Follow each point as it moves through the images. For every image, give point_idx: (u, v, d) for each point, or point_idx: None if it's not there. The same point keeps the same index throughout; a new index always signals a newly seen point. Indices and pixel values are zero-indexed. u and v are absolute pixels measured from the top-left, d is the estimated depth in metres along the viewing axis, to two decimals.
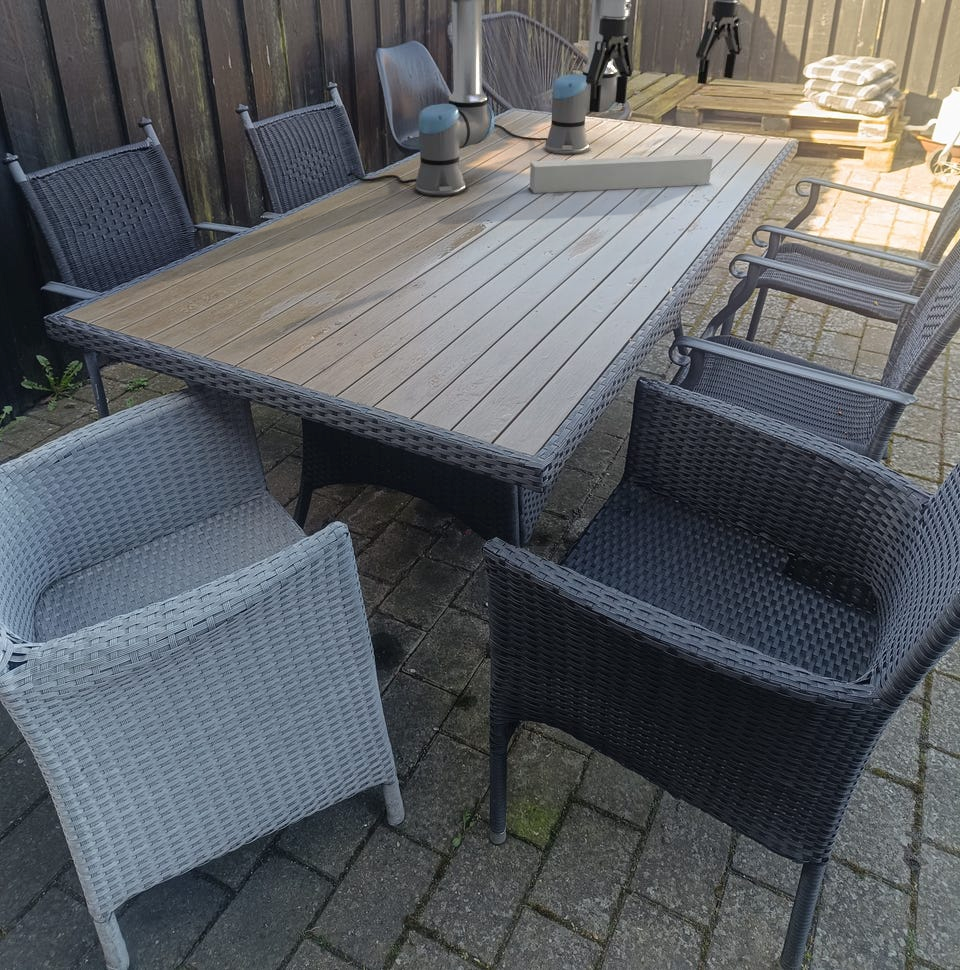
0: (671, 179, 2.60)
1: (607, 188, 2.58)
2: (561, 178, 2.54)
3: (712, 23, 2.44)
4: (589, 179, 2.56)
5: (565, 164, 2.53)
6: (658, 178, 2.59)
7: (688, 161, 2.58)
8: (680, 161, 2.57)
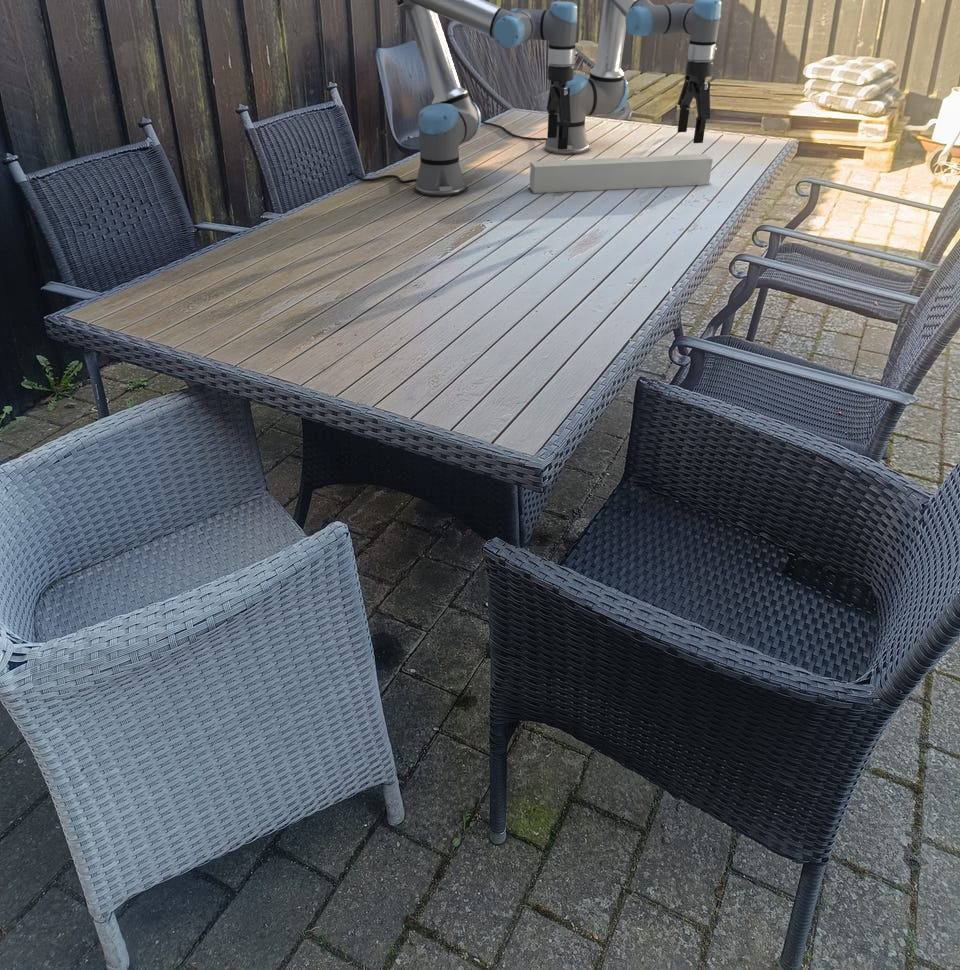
0: (671, 179, 2.60)
1: (607, 188, 2.58)
2: (561, 178, 2.54)
3: (708, 84, 2.42)
4: (589, 179, 2.56)
5: (565, 164, 2.53)
6: (658, 178, 2.59)
7: (688, 161, 2.58)
8: (680, 161, 2.57)
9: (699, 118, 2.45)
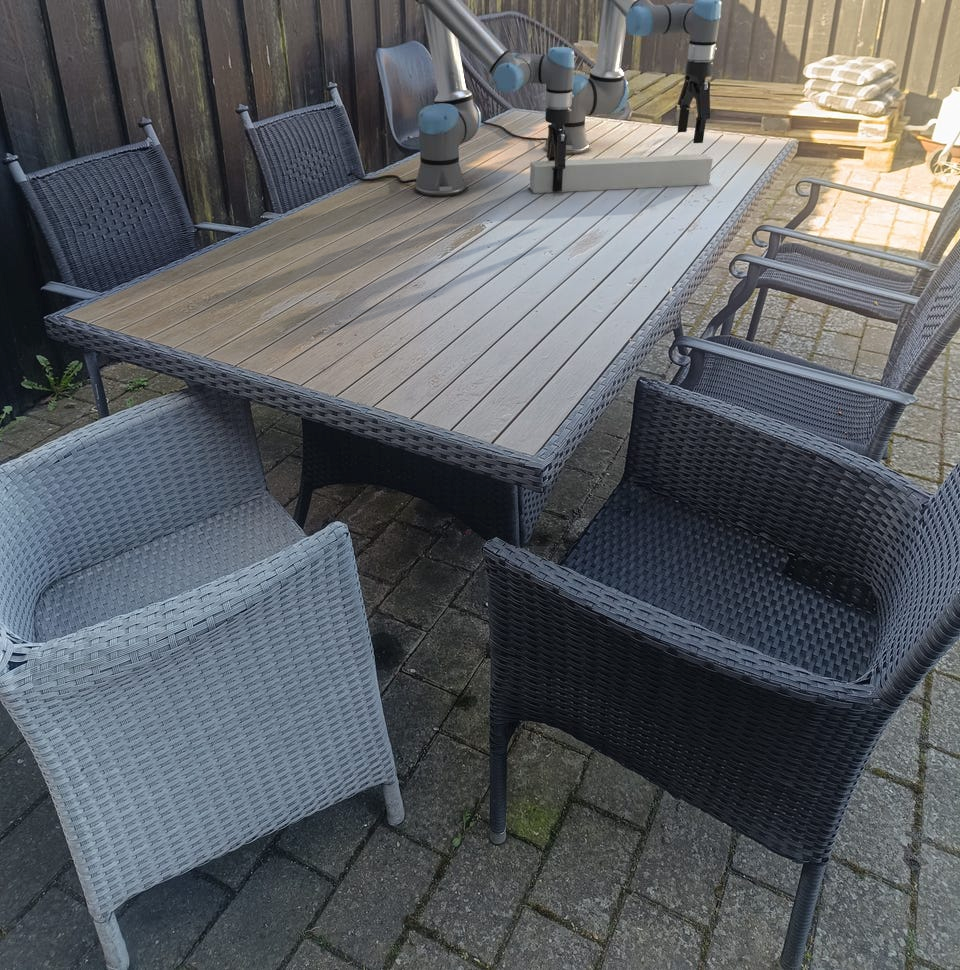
0: (671, 179, 2.60)
1: (607, 188, 2.58)
2: None
3: (708, 84, 2.42)
4: (589, 179, 2.56)
5: (565, 164, 2.53)
6: (658, 178, 2.59)
7: (688, 161, 2.58)
8: (680, 161, 2.57)
9: (699, 118, 2.45)
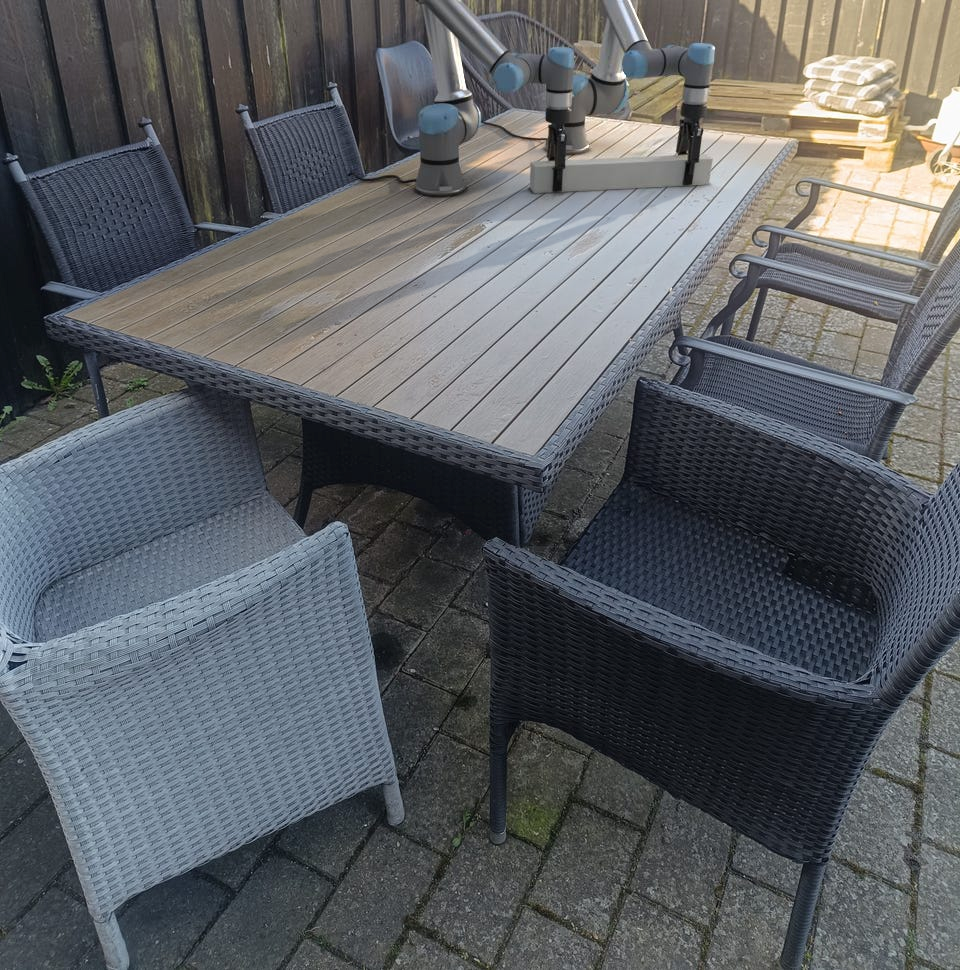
0: (671, 179, 2.60)
1: (607, 188, 2.58)
2: None
3: (701, 131, 2.49)
4: (589, 179, 2.56)
5: (565, 164, 2.53)
6: (658, 178, 2.59)
7: None
8: (680, 161, 2.57)
9: (688, 162, 2.56)
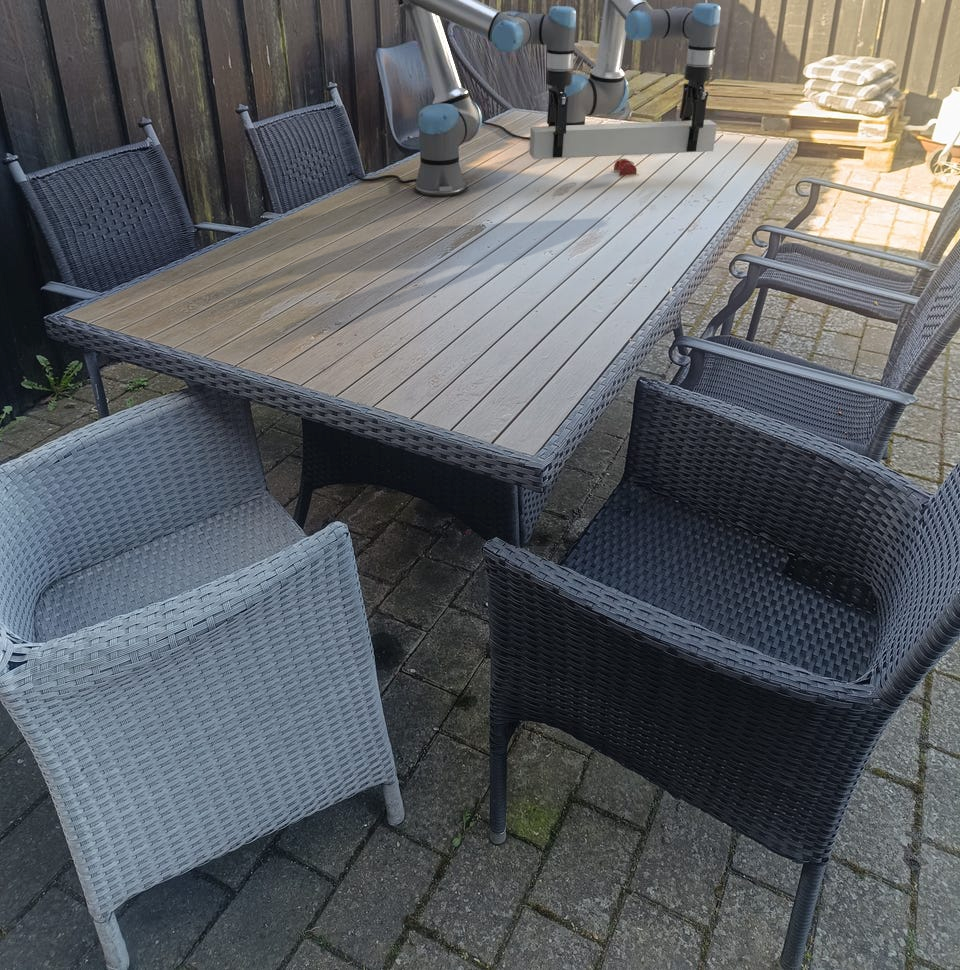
0: (674, 145, 2.54)
1: (609, 154, 2.52)
2: None
3: (706, 94, 2.43)
4: (591, 145, 2.50)
5: (566, 129, 2.47)
6: (661, 144, 2.53)
7: None
8: (684, 127, 2.51)
9: (692, 128, 2.50)
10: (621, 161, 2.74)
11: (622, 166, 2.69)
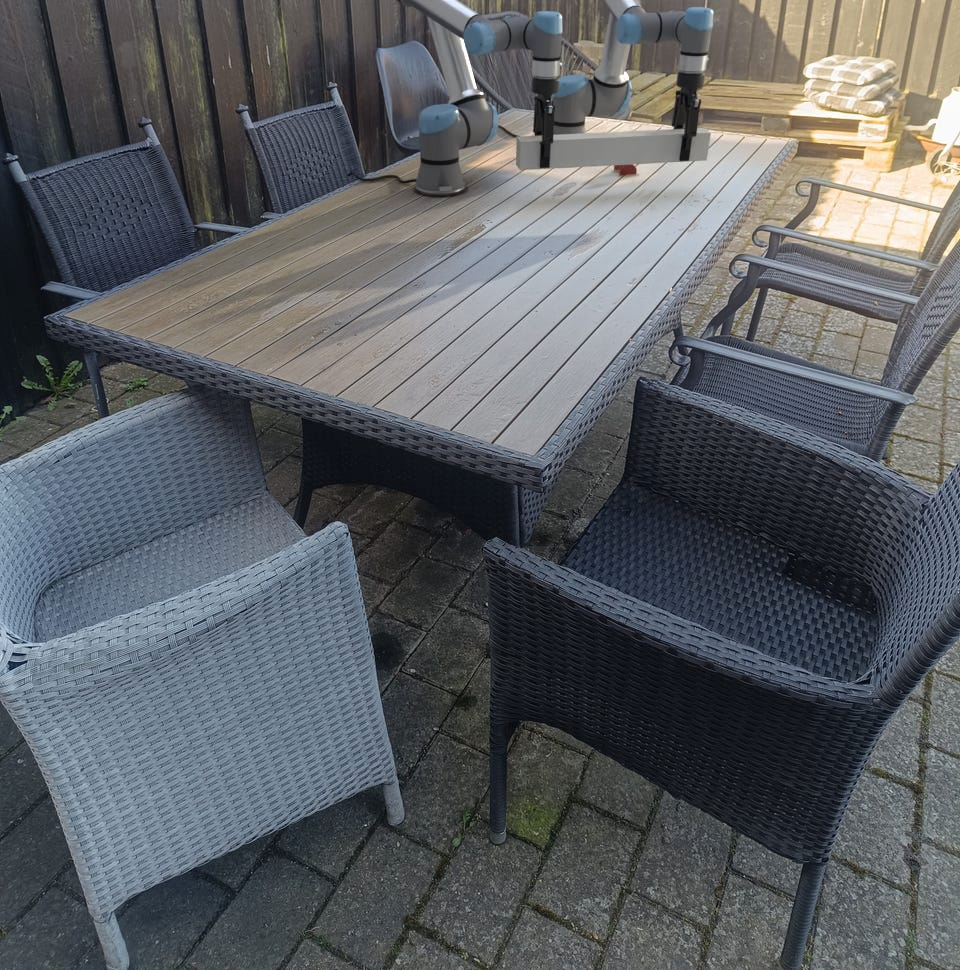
0: (667, 155, 2.44)
1: (599, 165, 2.43)
2: None
3: (699, 102, 2.33)
4: (579, 155, 2.40)
5: (553, 139, 2.37)
6: (652, 154, 2.43)
7: None
8: (676, 136, 2.41)
9: (685, 136, 2.40)
10: None
11: (622, 166, 2.69)
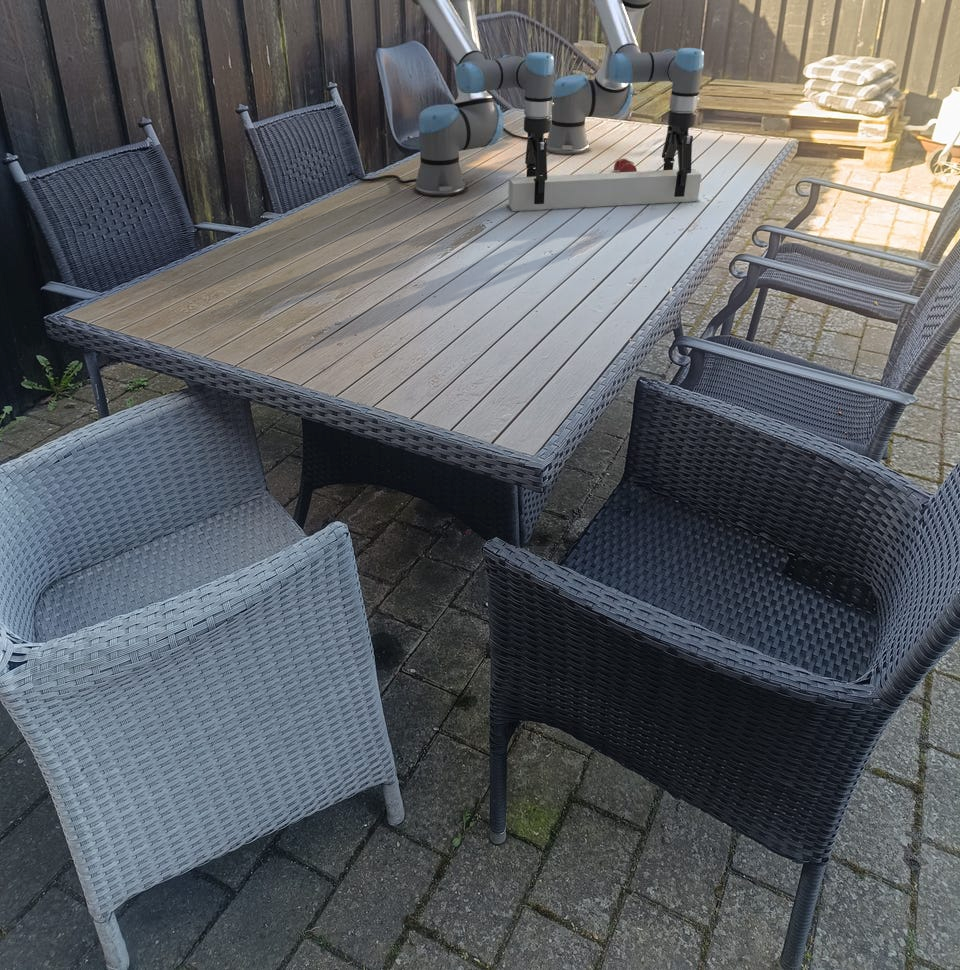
0: (658, 196, 2.46)
1: (590, 205, 2.45)
2: None
3: (691, 138, 2.34)
4: (571, 196, 2.42)
5: (545, 180, 2.39)
6: (644, 195, 2.45)
7: (675, 177, 2.44)
8: (667, 177, 2.43)
9: (680, 172, 2.39)
10: (621, 161, 2.74)
11: (622, 166, 2.69)
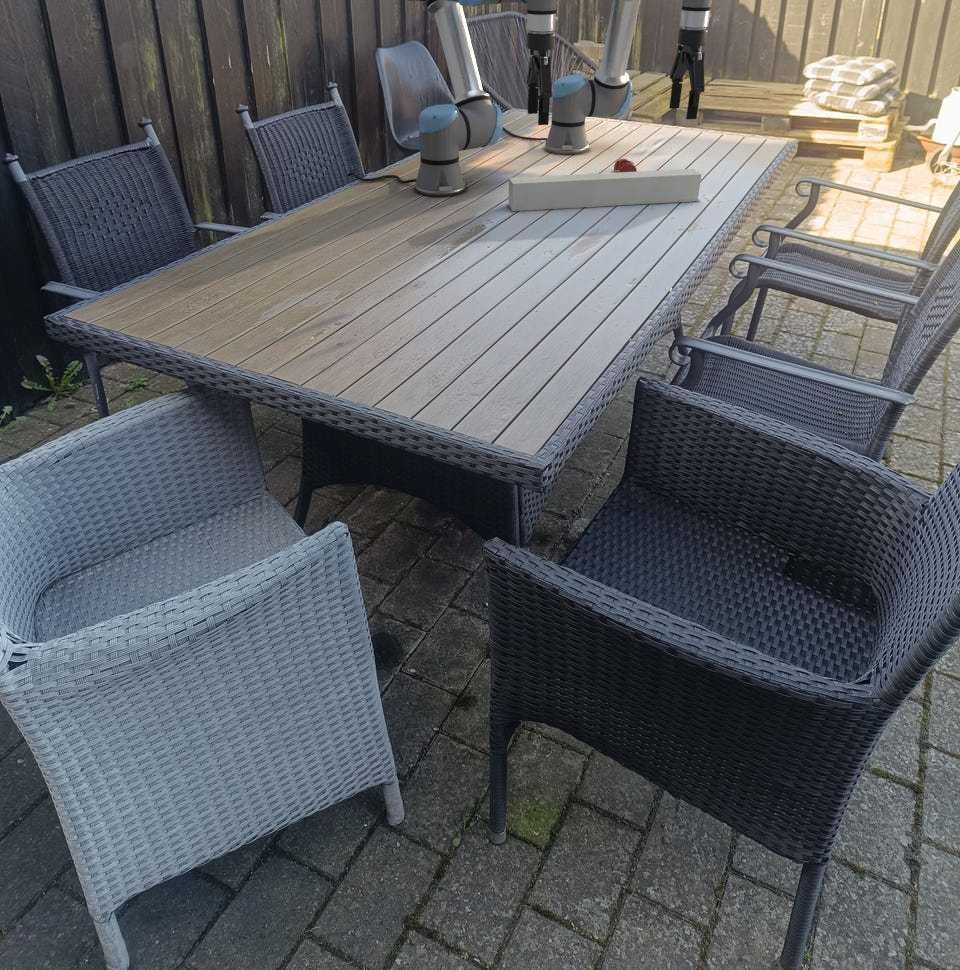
0: (658, 196, 2.46)
1: (590, 205, 2.45)
2: (541, 195, 2.40)
3: (702, 53, 2.22)
4: (571, 196, 2.42)
5: (545, 180, 2.39)
6: (644, 195, 2.45)
7: (675, 177, 2.44)
8: (667, 177, 2.43)
9: (692, 91, 2.25)
10: (621, 161, 2.74)
11: (622, 166, 2.69)
